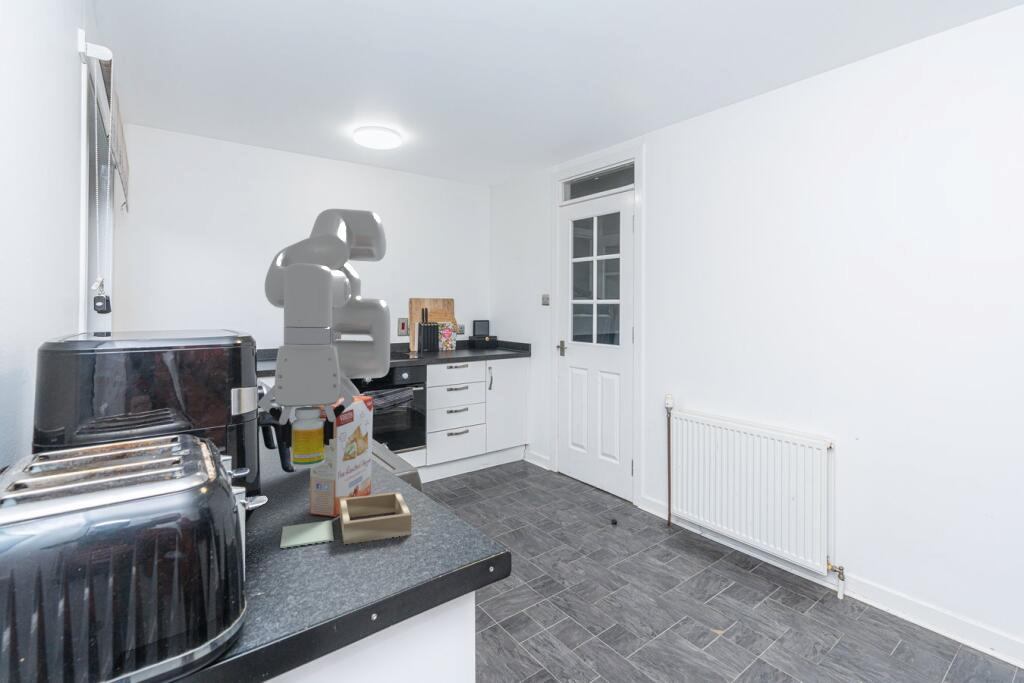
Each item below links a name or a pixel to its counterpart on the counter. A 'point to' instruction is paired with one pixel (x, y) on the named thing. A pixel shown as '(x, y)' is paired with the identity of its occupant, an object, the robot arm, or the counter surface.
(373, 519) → the birch box
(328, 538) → the green mat
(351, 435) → the cracker box
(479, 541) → the counter surface
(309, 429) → the supplement bottle
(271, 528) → the counter surface
